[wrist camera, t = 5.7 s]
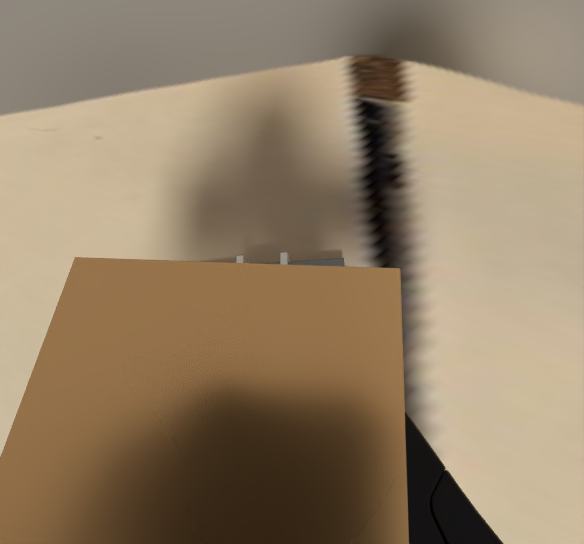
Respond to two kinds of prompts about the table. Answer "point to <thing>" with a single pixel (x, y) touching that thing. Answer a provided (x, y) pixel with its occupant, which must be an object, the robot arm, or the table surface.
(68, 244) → the table surface
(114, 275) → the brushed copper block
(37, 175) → the table surface
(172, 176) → the table surface
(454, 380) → the table surface
